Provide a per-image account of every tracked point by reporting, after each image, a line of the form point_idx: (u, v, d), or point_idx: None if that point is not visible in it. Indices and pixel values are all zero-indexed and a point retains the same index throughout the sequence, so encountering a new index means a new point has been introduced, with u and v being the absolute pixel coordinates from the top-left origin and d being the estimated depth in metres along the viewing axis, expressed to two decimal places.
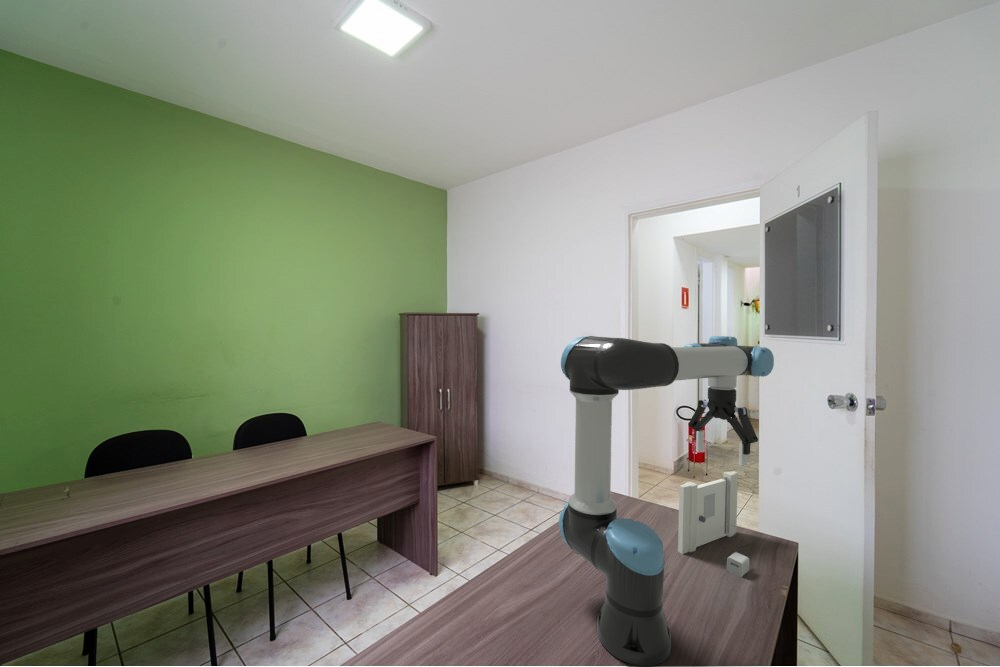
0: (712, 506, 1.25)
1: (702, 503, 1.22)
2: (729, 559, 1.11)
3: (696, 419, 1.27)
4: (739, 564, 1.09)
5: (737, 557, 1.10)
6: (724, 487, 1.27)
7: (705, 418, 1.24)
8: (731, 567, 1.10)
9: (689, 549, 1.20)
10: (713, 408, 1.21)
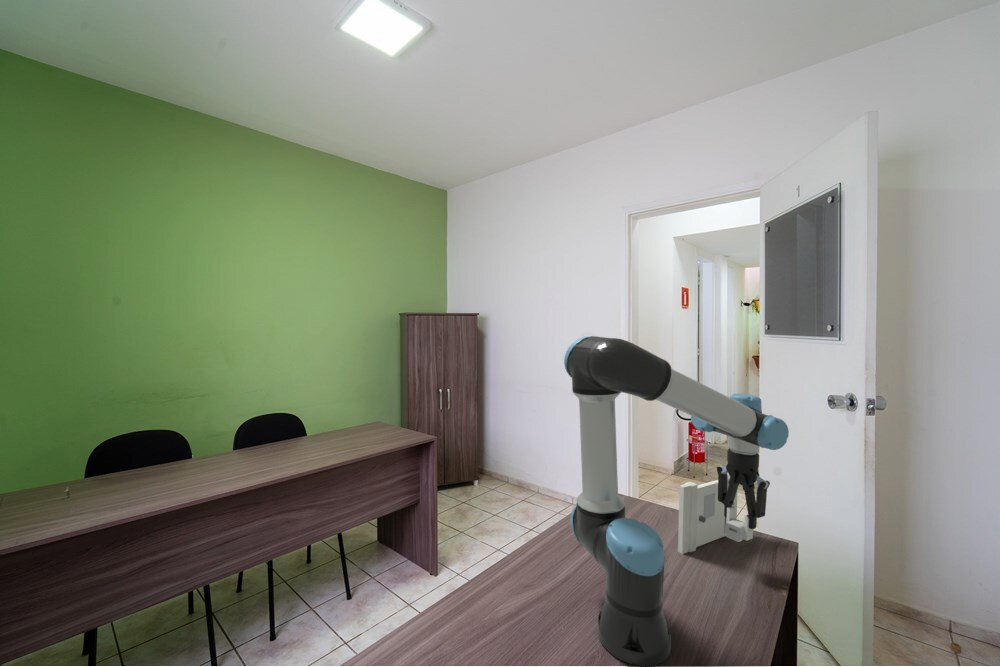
0: (712, 506, 1.25)
1: (702, 503, 1.22)
2: (728, 525, 1.10)
3: (723, 490, 1.15)
4: (738, 529, 1.08)
5: (735, 523, 1.10)
6: None
7: (730, 488, 1.12)
8: (730, 532, 1.10)
9: (689, 549, 1.20)
10: (733, 472, 1.11)
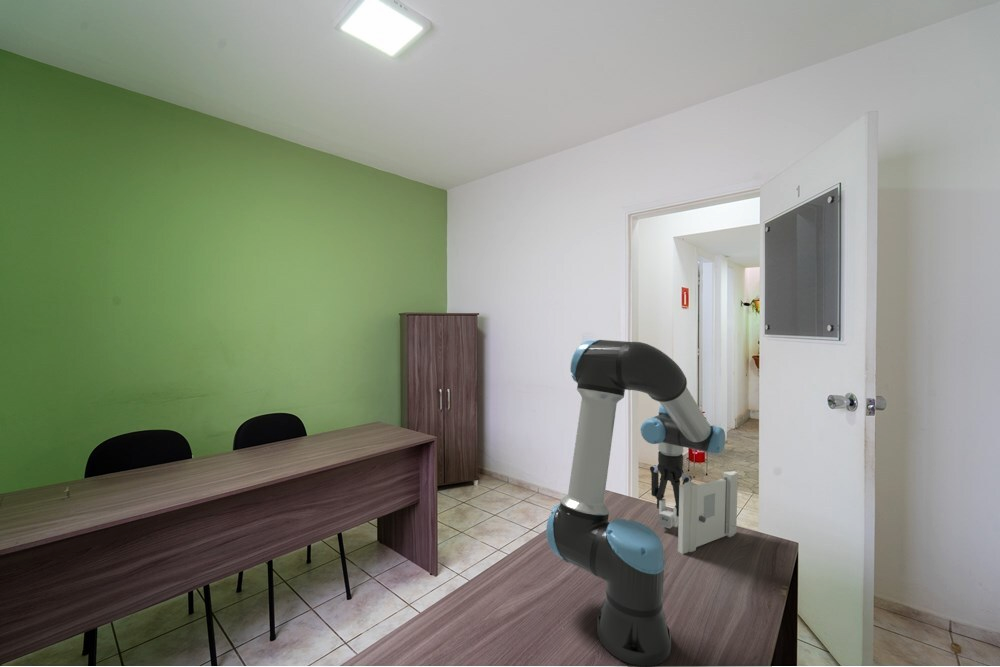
0: (712, 506, 1.25)
1: (702, 503, 1.22)
2: (660, 515, 1.32)
3: (655, 486, 1.36)
4: (668, 518, 1.30)
5: (666, 513, 1.32)
6: (724, 487, 1.27)
7: (661, 484, 1.34)
8: (662, 521, 1.31)
9: (689, 549, 1.20)
10: (663, 471, 1.32)
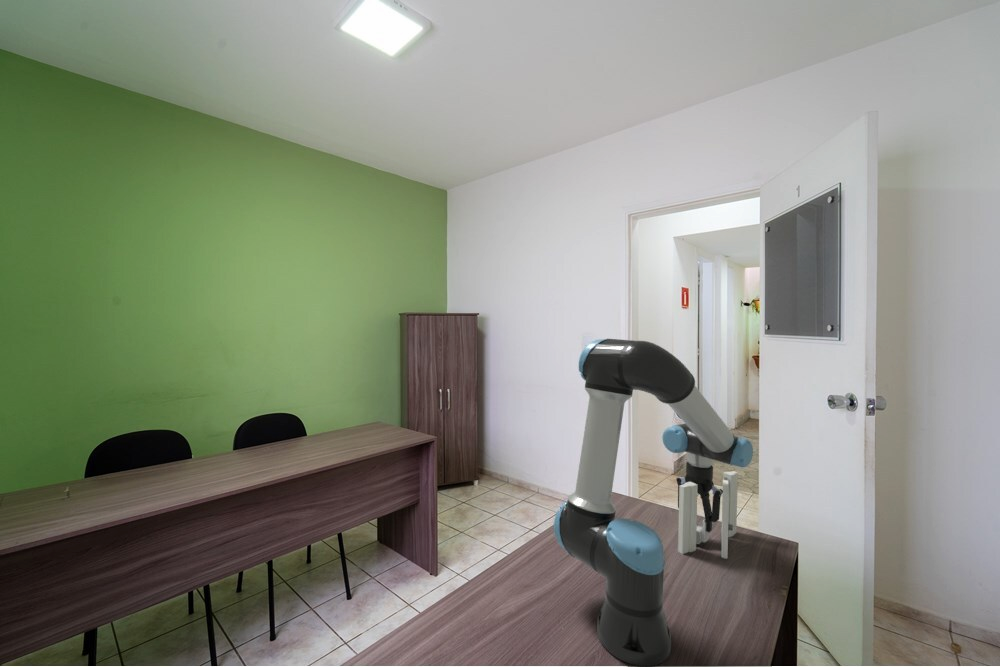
0: None
1: None
2: None
3: None
4: (697, 533, 1.23)
5: None
6: None
7: None
8: None
9: (689, 549, 1.20)
10: None
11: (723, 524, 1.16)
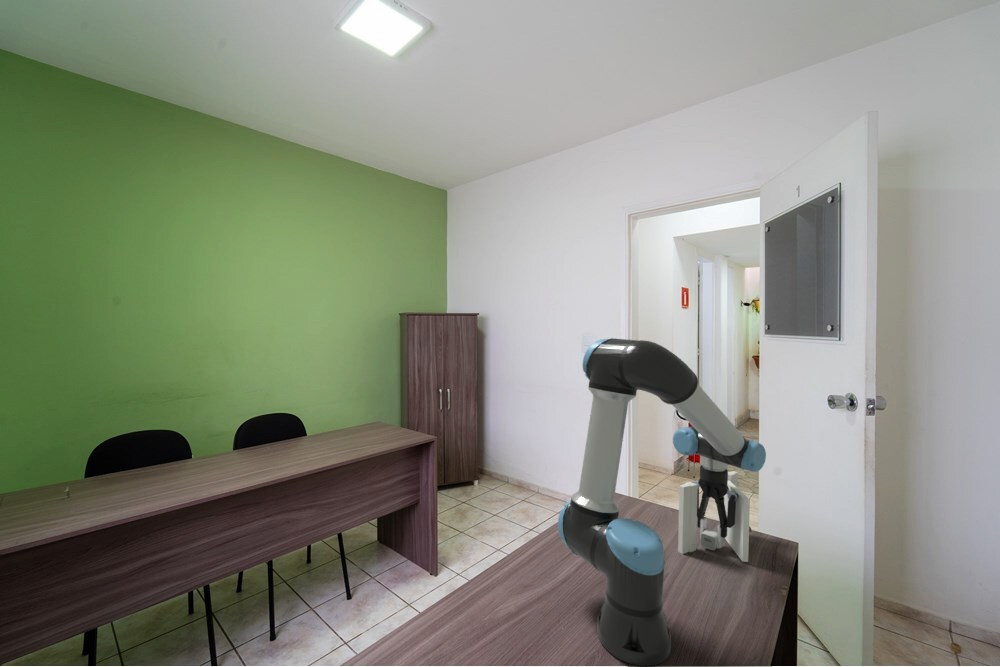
0: None
1: None
2: (703, 535, 1.21)
3: None
4: (712, 539, 1.19)
5: (709, 533, 1.21)
6: None
7: (703, 501, 1.23)
8: (705, 542, 1.21)
9: (689, 549, 1.20)
10: (705, 487, 1.22)
11: (744, 527, 1.14)
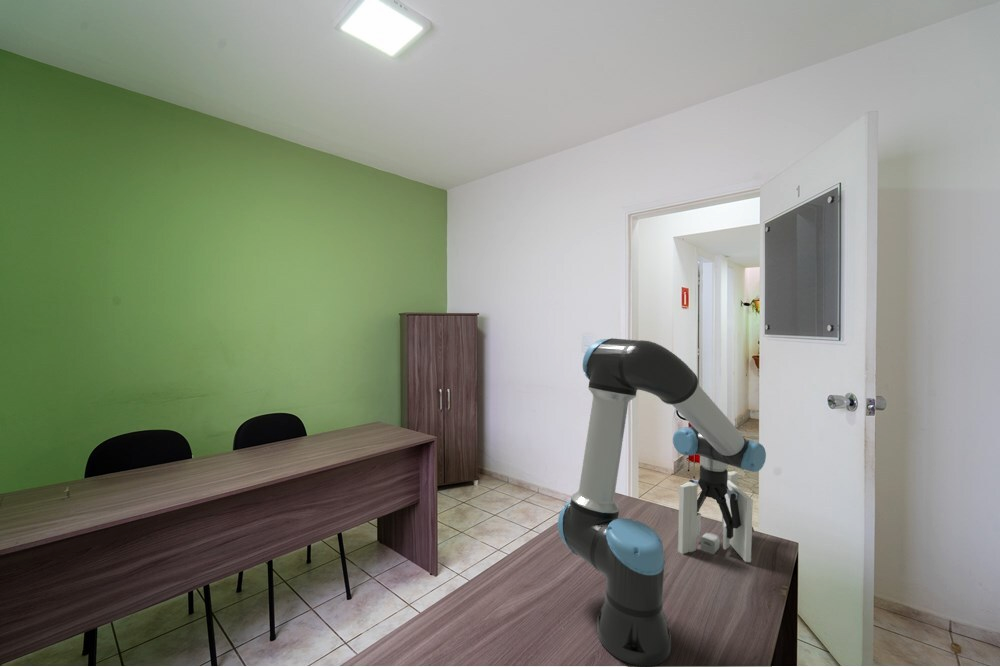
0: None
1: None
2: (703, 538, 1.21)
3: None
4: (712, 542, 1.19)
5: (709, 536, 1.21)
6: None
7: (700, 499, 1.24)
8: (705, 545, 1.21)
9: (689, 549, 1.20)
10: (705, 488, 1.22)
11: (747, 528, 1.14)
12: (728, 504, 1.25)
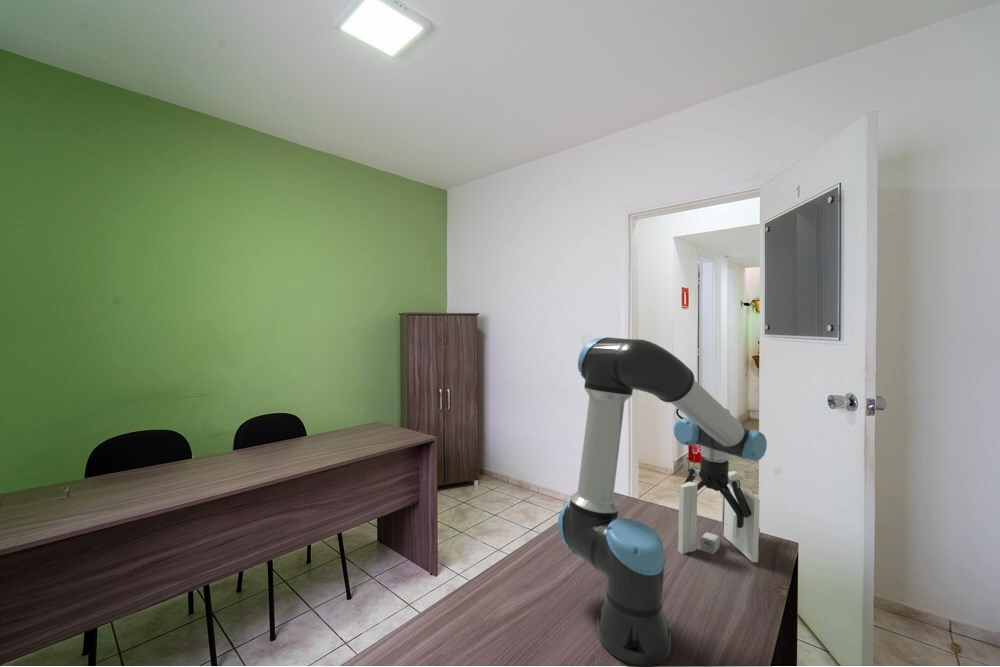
0: None
1: None
2: (702, 539, 1.21)
3: None
4: (712, 542, 1.19)
5: (709, 537, 1.21)
6: None
7: None
8: (705, 545, 1.21)
9: (689, 549, 1.20)
10: (706, 479, 1.22)
11: (754, 528, 1.14)
12: None
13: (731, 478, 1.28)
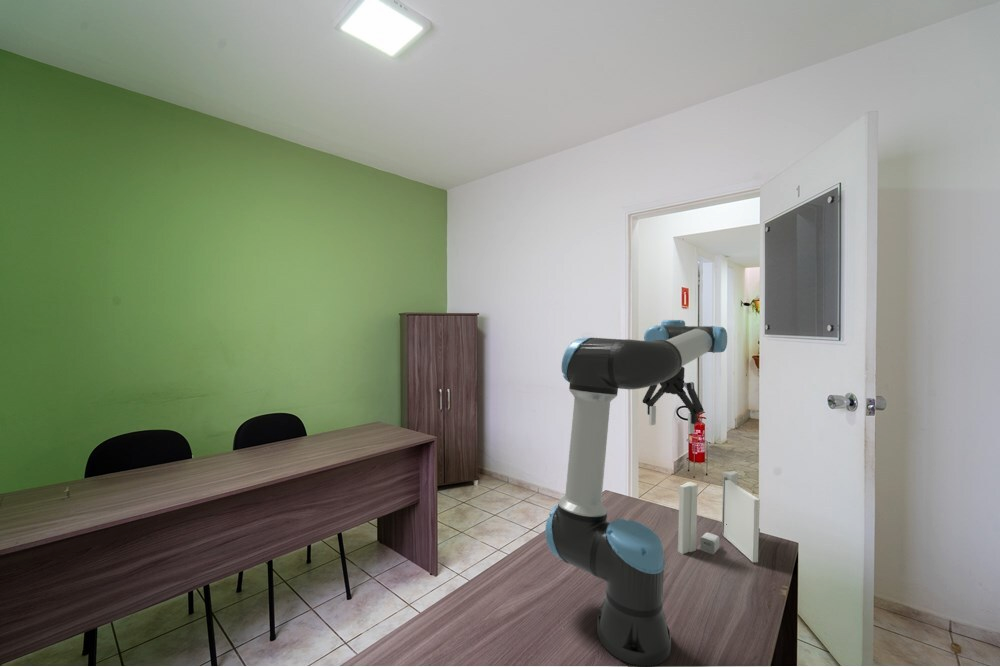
0: None
1: None
2: (702, 539, 1.21)
3: (649, 396, 1.41)
4: (711, 543, 1.19)
5: (709, 537, 1.21)
6: None
7: (657, 394, 1.37)
8: (705, 546, 1.20)
9: (689, 549, 1.20)
10: (665, 384, 1.35)
11: (754, 528, 1.14)
12: (730, 504, 1.25)
13: (731, 478, 1.28)
